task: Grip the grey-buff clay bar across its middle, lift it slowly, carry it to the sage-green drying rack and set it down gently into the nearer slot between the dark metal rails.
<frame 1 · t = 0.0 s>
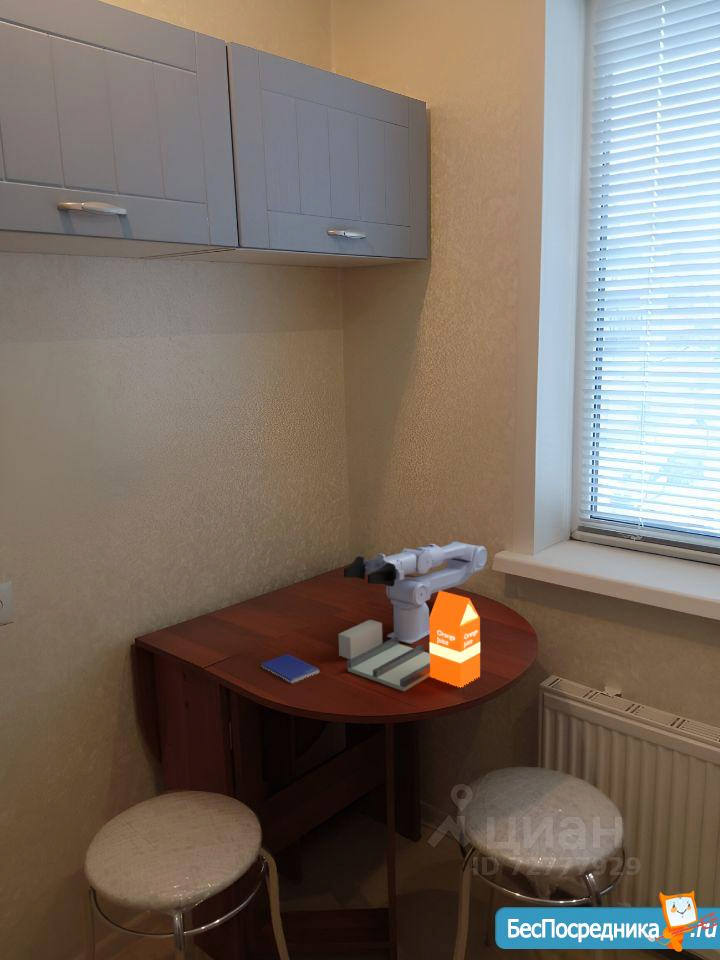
hand: (356, 576, 181), 22 cm above the table, tool horizontal, fingers open, 7 cm apart
rack: (399, 667, 181), on the table
orange juice: (455, 677, 175), on the table
clay bar: (361, 650, 191), on the table
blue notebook: (290, 672, 182), on the table
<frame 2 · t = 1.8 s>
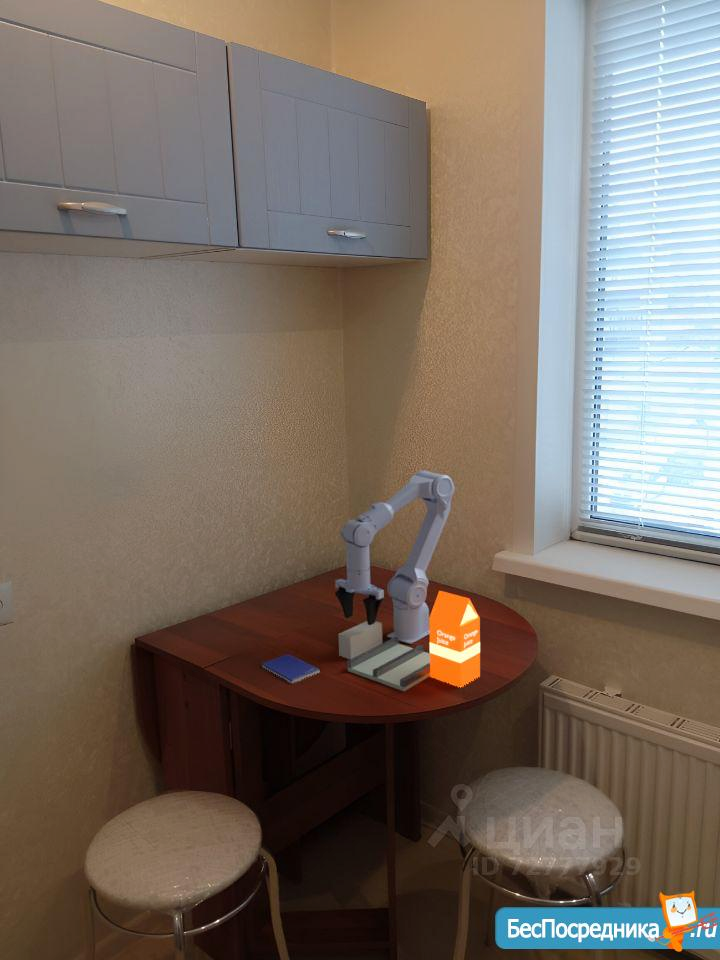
hand: (360, 620, 190), 8 cm above the table, tool pointing down, fingers open, 7 cm apart
nothing on the table moved.
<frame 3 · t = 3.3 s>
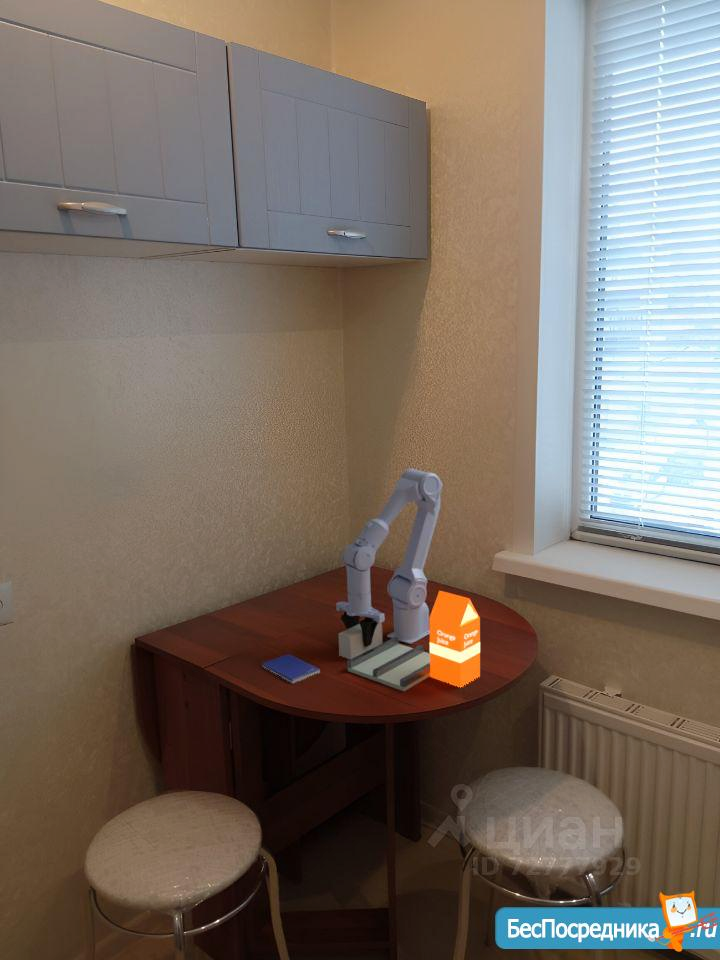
hand: (360, 642, 191), 2 cm above the table, tool pointing down, fingers closed on clay bar, 4 cm apart
clay bar: (361, 650, 191), on the table, touching gripper
everything else where it was.
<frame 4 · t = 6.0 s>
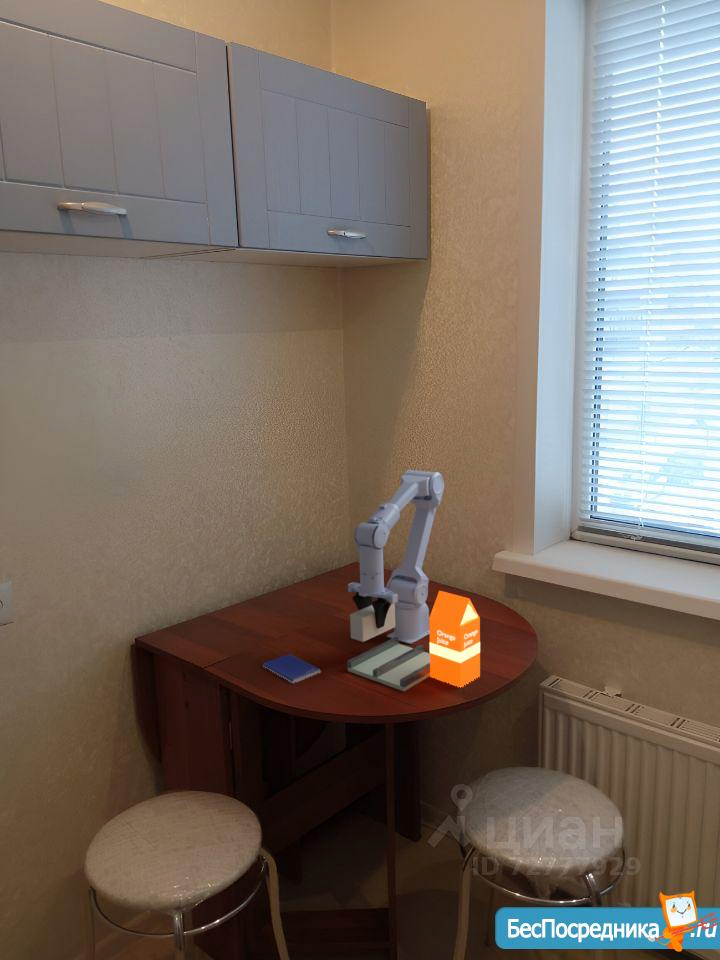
hand: (373, 624, 185), 8 cm above the table, tool pointing down, fingers closed on clay bar, 4 cm apart
clay bar: (373, 632, 186), point 6 cm above the table, touching gripper
everything else where it was.
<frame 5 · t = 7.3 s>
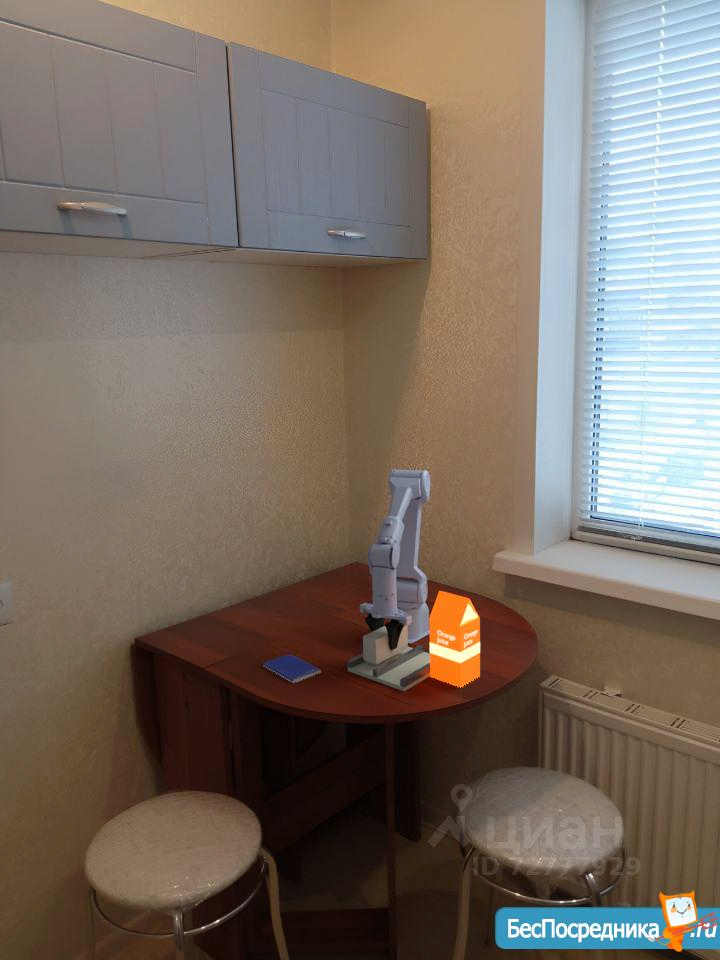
hand: (386, 646, 183), 4 cm above the table, tool pointing down, fingers closed on clay bar, 4 cm apart
clay bar: (386, 653, 183), point 2 cm above the table, touching gripper
everything else where it was.
when the fingers open (4 cm above the table, at t = 8.5 s): clay bar stays where it is, resting on rack.
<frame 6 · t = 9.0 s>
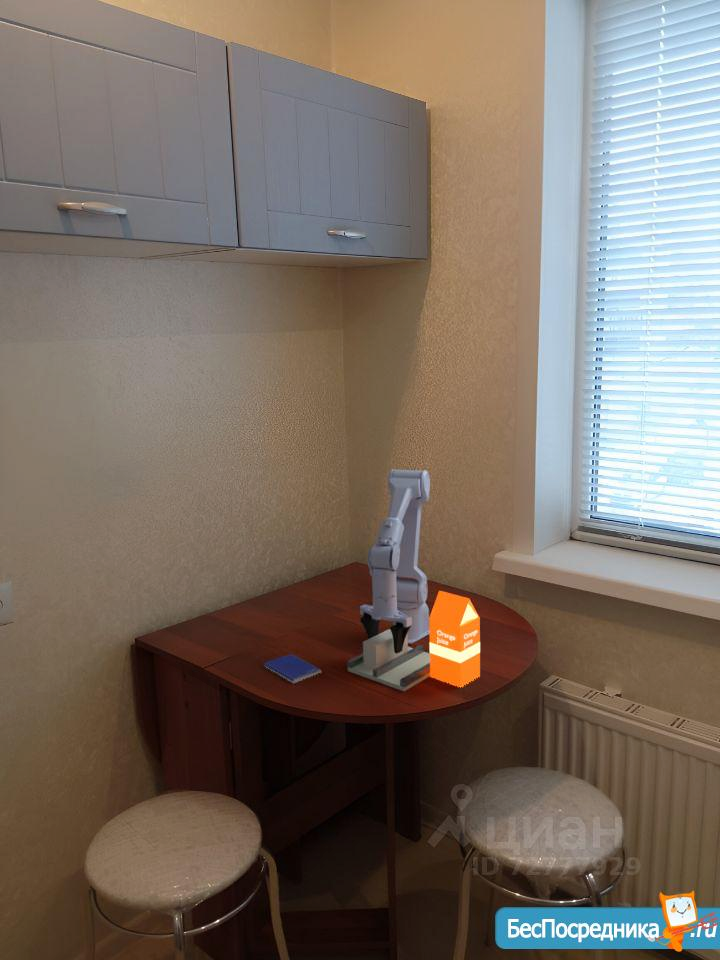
hand: (386, 647, 183), 4 cm above the table, tool pointing down, fingers open, 7 cm apart
clay bar: (386, 659, 183), point 1 cm above the table, touching rack
everything else where it was.
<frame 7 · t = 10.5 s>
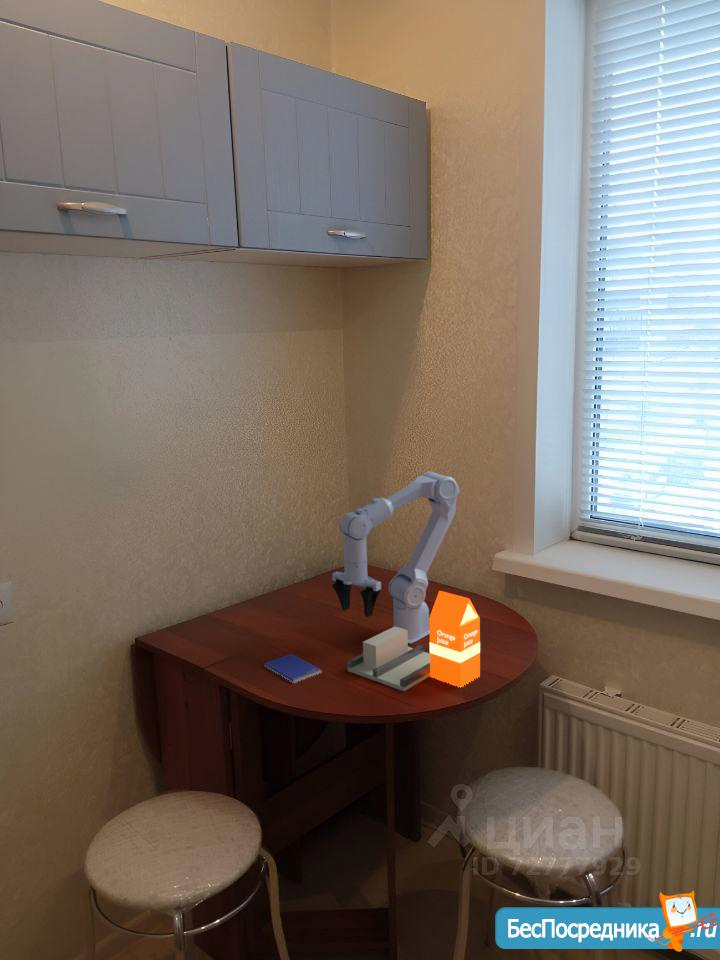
hand: (357, 612, 191), 9 cm above the table, tool pointing down, fingers open, 7 cm apart
nothing on the table moved.
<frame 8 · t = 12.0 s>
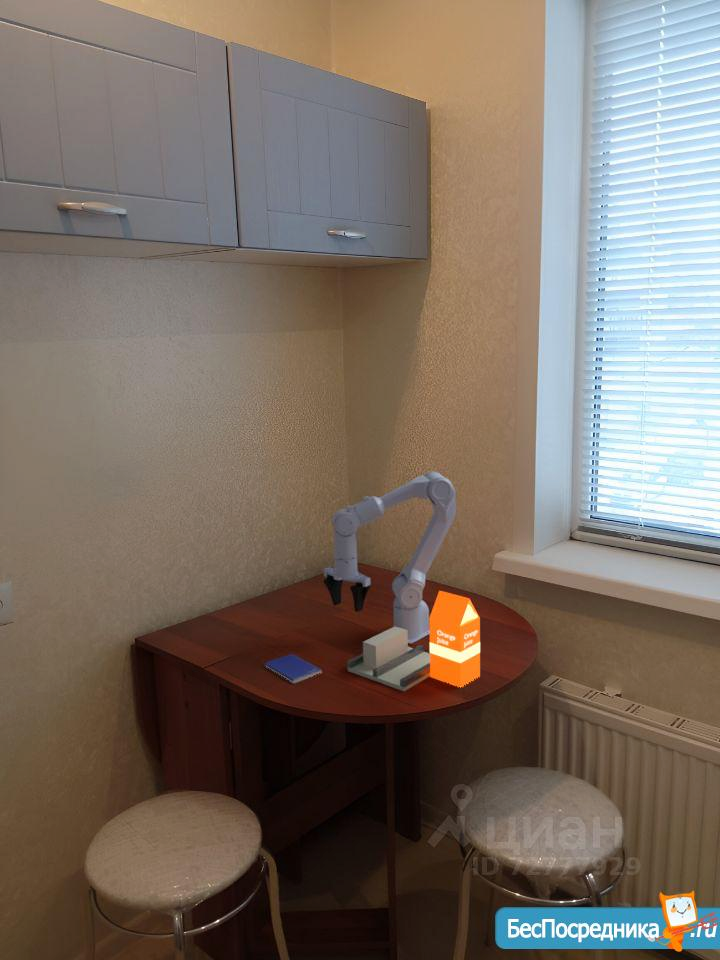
hand: (347, 607, 195), 9 cm above the table, tool pointing down, fingers open, 7 cm apart
nothing on the table moved.
at the end: clay bar inside the target area on the rack (0.0 cm from its centre), point 1.0 cm above the rack's base; clay bar tilted 0°; the gripper is holding nothing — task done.
